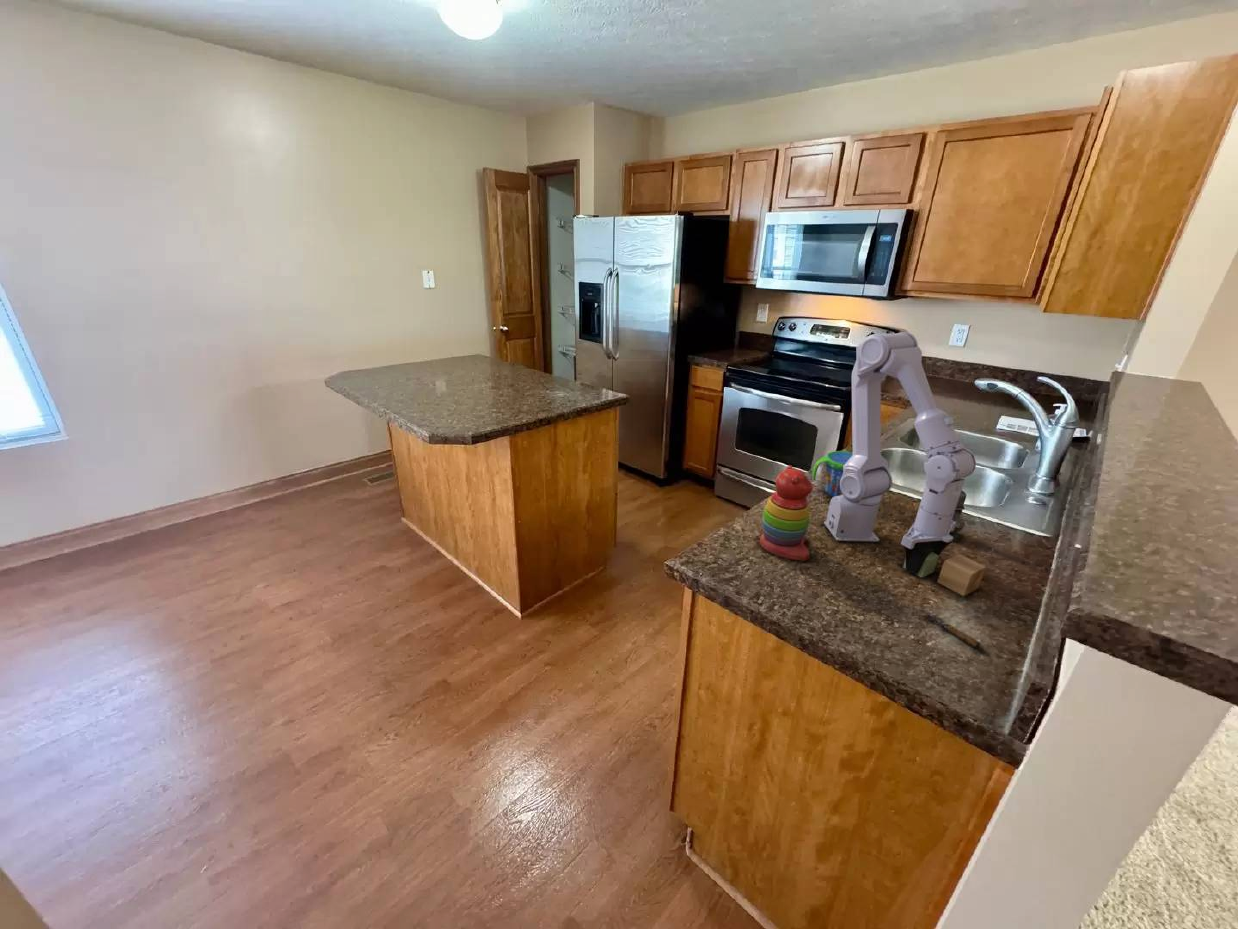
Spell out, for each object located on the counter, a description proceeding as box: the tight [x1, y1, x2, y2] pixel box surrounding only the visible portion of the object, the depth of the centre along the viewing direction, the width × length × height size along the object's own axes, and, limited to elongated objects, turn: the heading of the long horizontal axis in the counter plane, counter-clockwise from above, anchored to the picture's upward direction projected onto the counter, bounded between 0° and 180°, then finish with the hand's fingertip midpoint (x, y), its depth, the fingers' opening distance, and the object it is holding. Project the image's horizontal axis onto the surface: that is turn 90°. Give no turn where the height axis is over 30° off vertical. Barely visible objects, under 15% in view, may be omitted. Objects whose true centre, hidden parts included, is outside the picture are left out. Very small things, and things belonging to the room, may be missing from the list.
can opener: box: [927, 612, 981, 649], centre depth 86 cm, size 9×2×1 cm, turn 23°
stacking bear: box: [759, 465, 814, 562], centre depth 107 cm, size 11×10×18 cm
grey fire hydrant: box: [949, 489, 967, 541], centre depth 114 cm, size 6×6×12 cm
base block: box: [937, 553, 986, 597], centre depth 98 cm, size 5×5×5 cm
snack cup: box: [811, 450, 853, 498], centre depth 132 cm, size 16×10×10 cm
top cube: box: [902, 552, 940, 579], centre depth 102 cm, size 4×4×4 cm
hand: (918, 568), depth 103 cm, fingers closed on top cube, 4 cm apart
